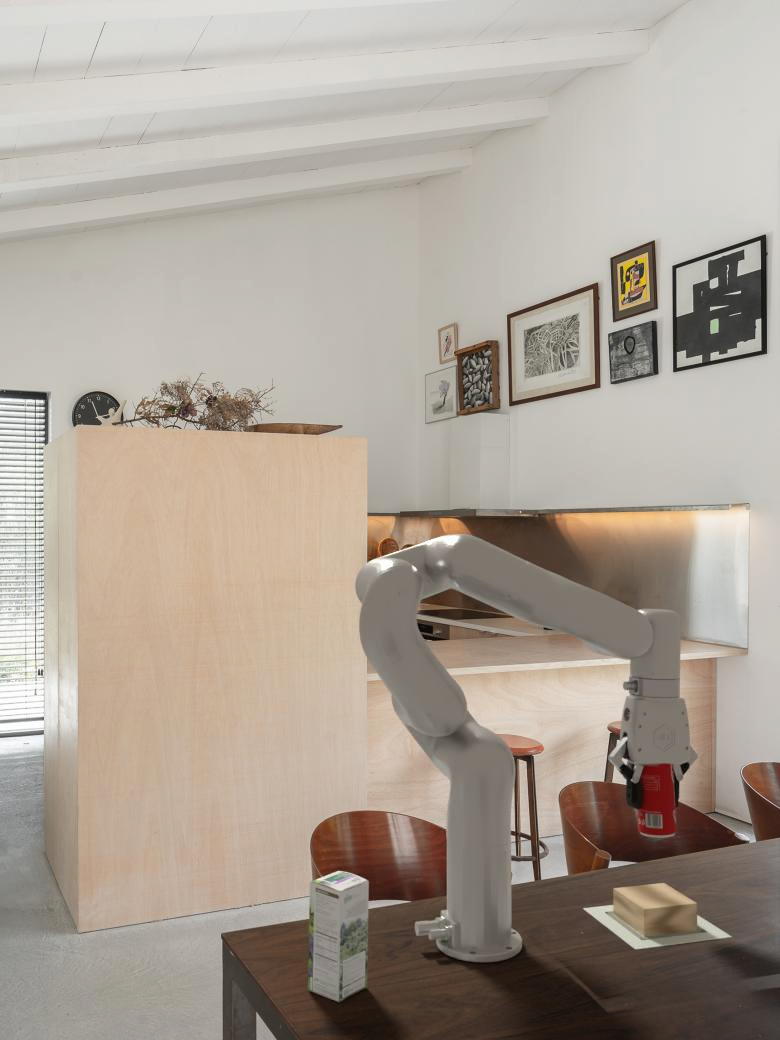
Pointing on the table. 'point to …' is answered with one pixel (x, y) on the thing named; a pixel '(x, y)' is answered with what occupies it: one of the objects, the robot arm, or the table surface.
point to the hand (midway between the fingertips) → (652, 804)
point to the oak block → (655, 909)
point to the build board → (640, 942)
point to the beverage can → (657, 802)
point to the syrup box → (338, 935)
